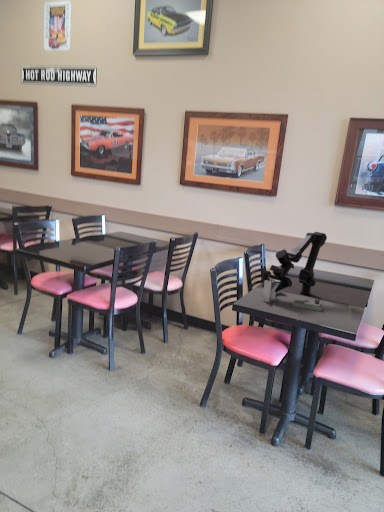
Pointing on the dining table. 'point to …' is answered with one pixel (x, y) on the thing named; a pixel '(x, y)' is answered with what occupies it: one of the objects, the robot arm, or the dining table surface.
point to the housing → (269, 290)
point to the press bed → (301, 304)
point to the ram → (313, 302)
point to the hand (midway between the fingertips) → (268, 289)
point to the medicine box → (277, 286)
